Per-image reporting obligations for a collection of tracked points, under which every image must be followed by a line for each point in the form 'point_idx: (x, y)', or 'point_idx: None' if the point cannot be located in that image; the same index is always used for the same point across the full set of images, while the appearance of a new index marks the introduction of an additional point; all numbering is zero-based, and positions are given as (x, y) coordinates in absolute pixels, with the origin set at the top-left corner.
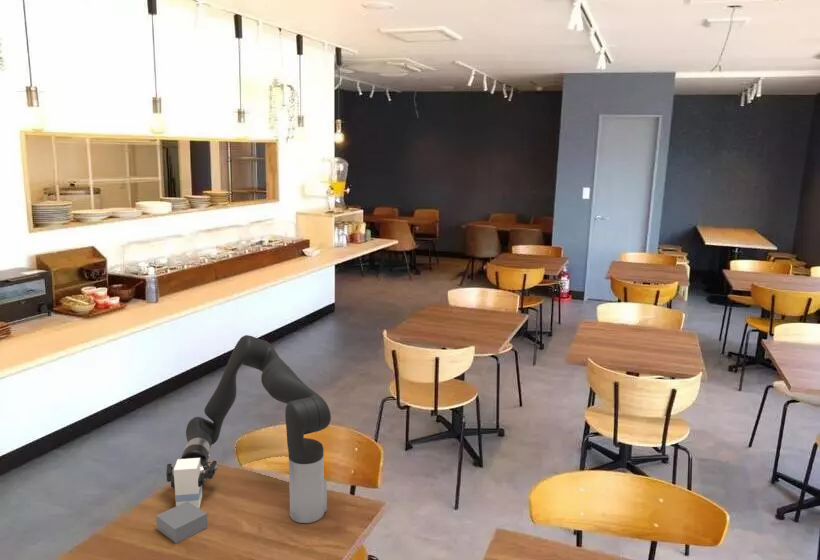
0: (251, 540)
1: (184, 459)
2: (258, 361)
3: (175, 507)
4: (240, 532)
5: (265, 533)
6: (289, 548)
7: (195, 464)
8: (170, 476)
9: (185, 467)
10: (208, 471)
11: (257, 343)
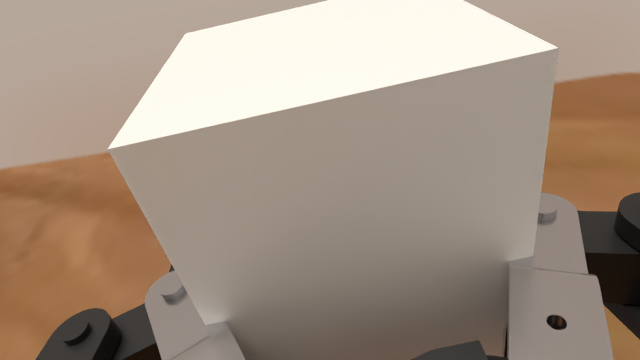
0: (91, 185)
1: (403, 70)
2: None
3: None
4: (113, 208)
5: (32, 215)
6: (3, 178)
7: (198, 53)
8: (588, 214)
9: (309, 15)
10: (108, 316)
11: None
